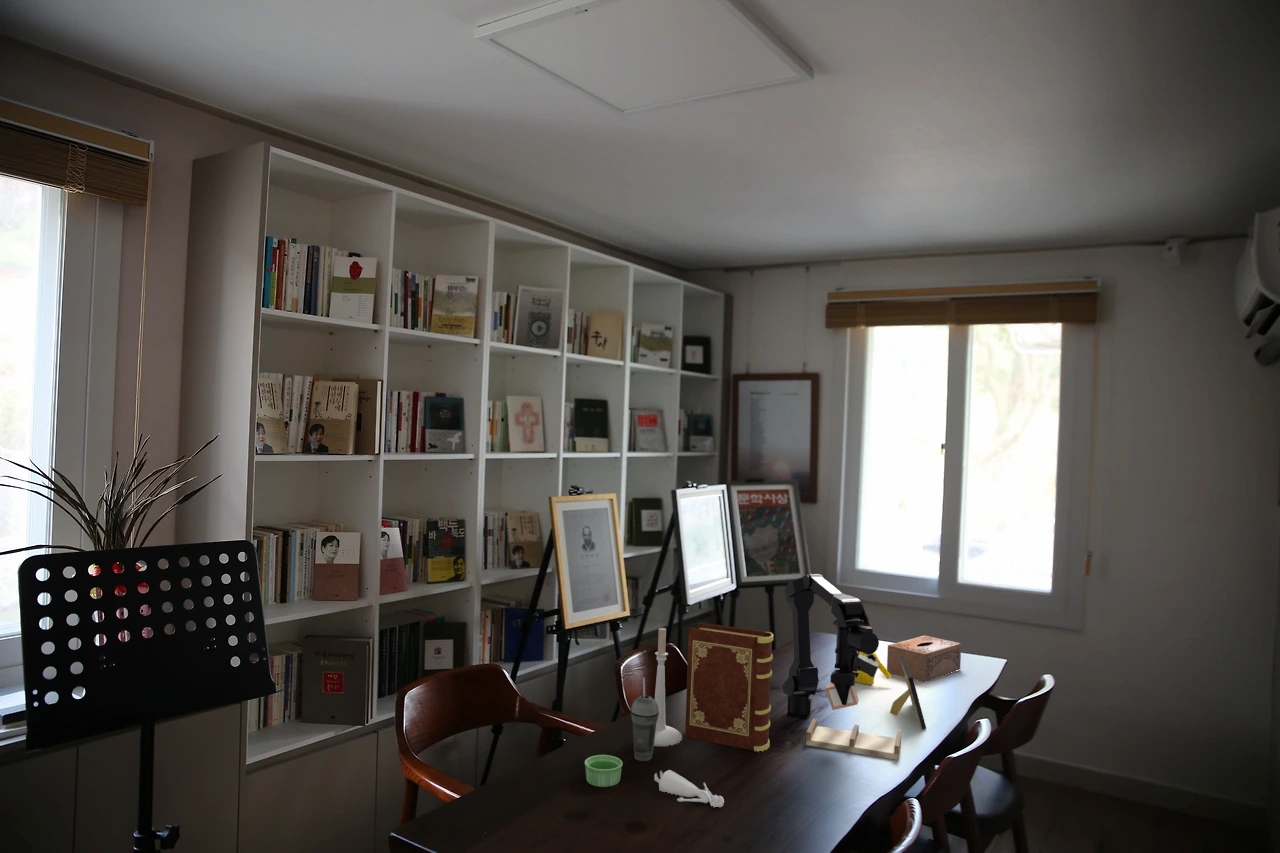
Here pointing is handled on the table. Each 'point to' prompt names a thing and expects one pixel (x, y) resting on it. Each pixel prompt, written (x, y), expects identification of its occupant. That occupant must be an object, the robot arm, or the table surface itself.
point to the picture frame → (913, 695)
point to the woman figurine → (686, 789)
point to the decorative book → (729, 686)
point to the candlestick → (663, 699)
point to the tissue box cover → (924, 657)
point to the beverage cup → (644, 725)
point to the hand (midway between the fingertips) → (845, 702)
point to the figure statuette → (865, 677)
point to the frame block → (836, 700)
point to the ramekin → (603, 770)
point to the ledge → (854, 741)
